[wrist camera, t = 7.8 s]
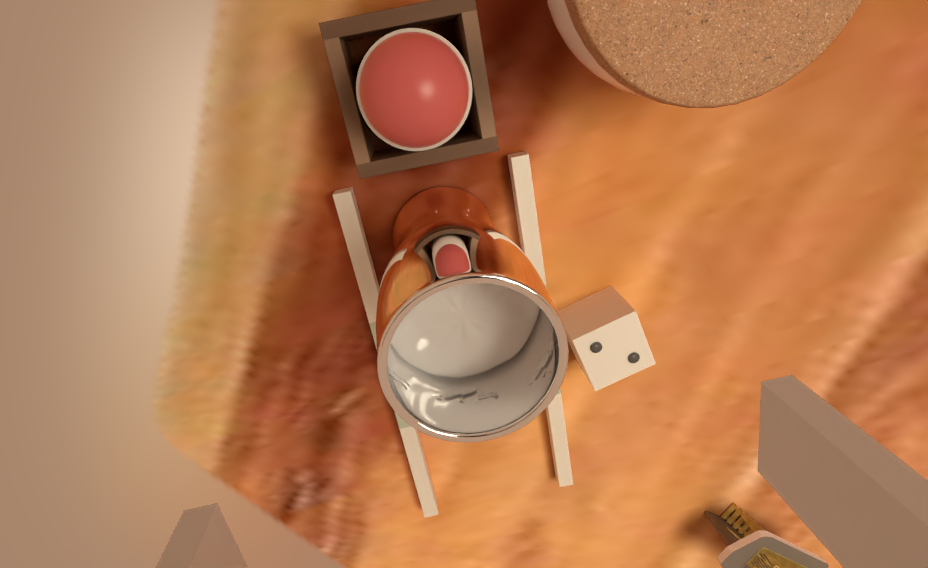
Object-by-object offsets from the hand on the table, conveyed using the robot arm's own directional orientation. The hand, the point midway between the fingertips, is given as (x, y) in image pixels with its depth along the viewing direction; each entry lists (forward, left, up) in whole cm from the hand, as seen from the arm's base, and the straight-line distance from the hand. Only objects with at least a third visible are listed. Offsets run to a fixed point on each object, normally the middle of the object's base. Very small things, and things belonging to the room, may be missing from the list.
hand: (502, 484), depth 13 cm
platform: (+29, +20, -21) cm, 41 cm away
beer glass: (0, 0, -21) cm, 21 cm away
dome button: (-9, 0, -19) cm, 21 cm away
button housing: (-9, 0, -21) cm, 22 cm away
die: (+8, +9, -21) cm, 24 cm away
